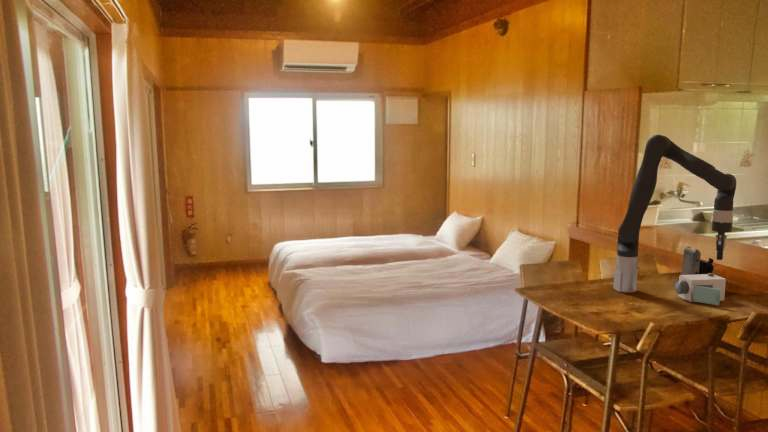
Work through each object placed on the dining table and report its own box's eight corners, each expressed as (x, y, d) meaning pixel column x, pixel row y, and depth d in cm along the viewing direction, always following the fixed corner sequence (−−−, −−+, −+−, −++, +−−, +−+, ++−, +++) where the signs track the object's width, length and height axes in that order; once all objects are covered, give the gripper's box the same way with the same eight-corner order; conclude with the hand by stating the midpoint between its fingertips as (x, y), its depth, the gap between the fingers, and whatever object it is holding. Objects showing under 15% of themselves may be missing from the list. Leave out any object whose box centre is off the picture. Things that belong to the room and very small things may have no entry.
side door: (690, 301, 247) (691, 285, 246) (691, 300, 249) (692, 284, 248) (718, 306, 240) (720, 290, 239) (719, 305, 242) (721, 289, 241)
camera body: (683, 302, 248) (685, 278, 247) (671, 296, 258) (672, 273, 256) (724, 300, 250) (726, 276, 248) (710, 294, 259) (712, 271, 257)
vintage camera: (722, 291, 266) (726, 250, 263) (689, 290, 266) (693, 249, 264) (710, 286, 276) (714, 246, 273) (679, 285, 276) (683, 246, 273)
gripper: (713, 217, 247) (711, 255, 250) (710, 221, 236) (707, 261, 239) (733, 219, 243) (730, 257, 245) (731, 223, 232) (728, 263, 235)
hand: (719, 259), depth 242 cm, fingers closed
